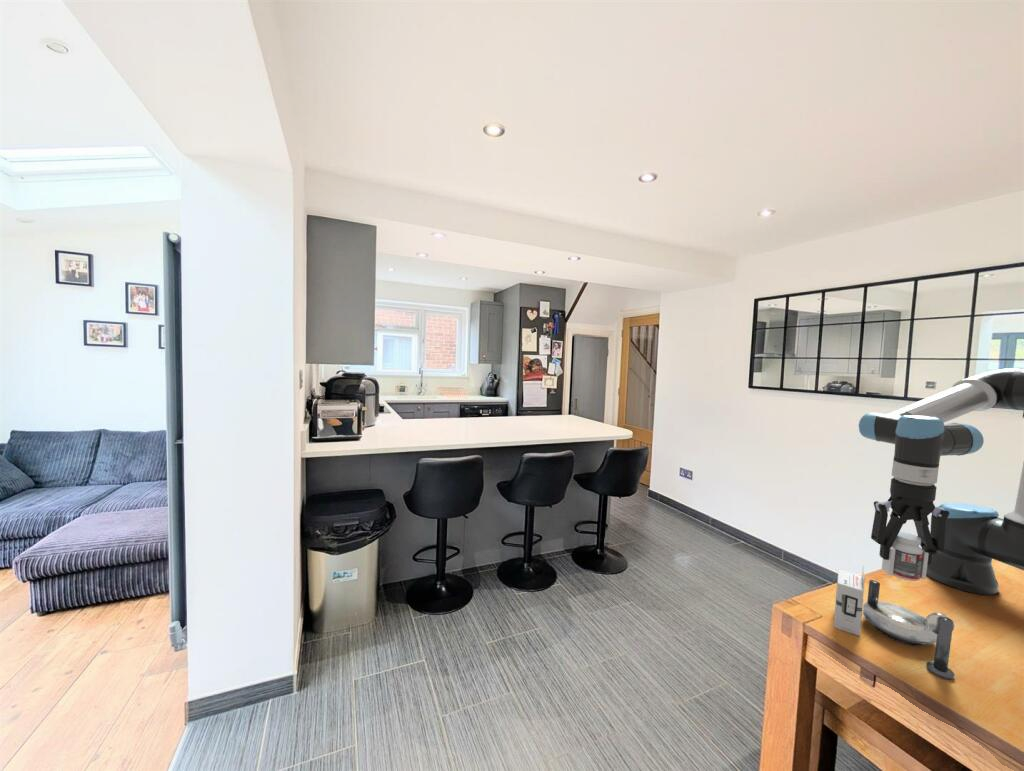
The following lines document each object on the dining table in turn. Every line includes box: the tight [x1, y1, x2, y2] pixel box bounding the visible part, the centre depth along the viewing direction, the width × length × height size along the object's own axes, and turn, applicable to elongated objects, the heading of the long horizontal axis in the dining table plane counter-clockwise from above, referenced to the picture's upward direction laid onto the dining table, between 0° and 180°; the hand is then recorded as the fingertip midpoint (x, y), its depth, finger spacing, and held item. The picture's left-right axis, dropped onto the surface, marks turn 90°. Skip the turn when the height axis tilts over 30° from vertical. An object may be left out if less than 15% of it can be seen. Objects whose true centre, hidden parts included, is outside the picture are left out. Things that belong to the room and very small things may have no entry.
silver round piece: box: [862, 579, 937, 645], centre depth 95 cm, size 13×13×8 cm
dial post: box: [925, 612, 955, 681], centre depth 83 cm, size 4×4×12 cm
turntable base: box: [872, 624, 924, 647], centre depth 95 cm, size 9×9×2 cm
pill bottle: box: [892, 531, 923, 582], centre depth 94 cm, size 6×6×10 cm
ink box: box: [833, 565, 866, 637], centre depth 97 cm, size 8×5×15 cm, turn 140°
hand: (903, 573), depth 94 cm, fingers closed on pill bottle, 6 cm apart
